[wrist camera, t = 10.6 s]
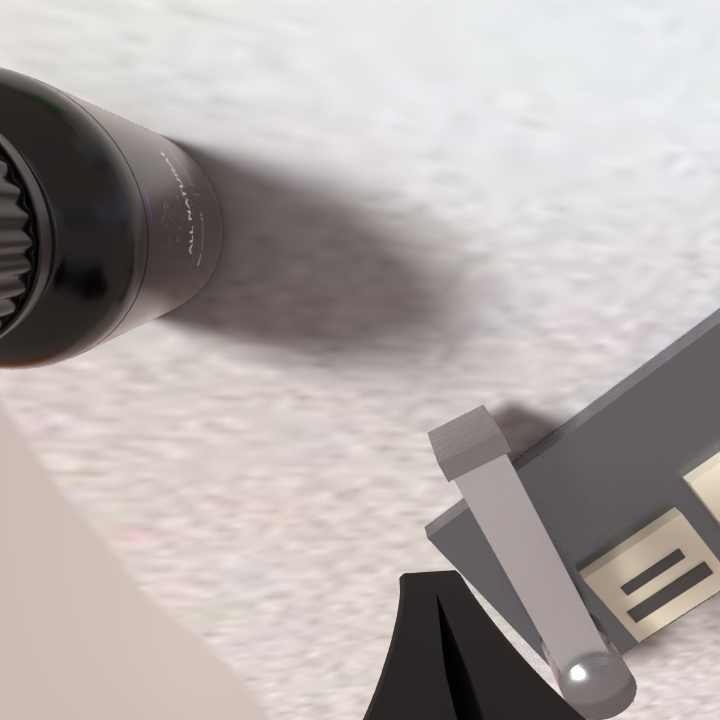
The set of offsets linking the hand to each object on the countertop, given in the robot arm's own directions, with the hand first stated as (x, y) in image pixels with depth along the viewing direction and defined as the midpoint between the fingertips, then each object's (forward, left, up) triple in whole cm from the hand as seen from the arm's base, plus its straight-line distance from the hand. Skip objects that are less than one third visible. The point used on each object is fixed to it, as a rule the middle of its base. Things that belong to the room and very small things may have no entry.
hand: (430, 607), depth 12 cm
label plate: (-5, +13, -10) cm, 17 cm away
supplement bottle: (+2, -13, -11) cm, 17 cm away
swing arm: (-1, +7, -9) cm, 11 cm away
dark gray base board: (-7, +10, -10) cm, 16 cm away
